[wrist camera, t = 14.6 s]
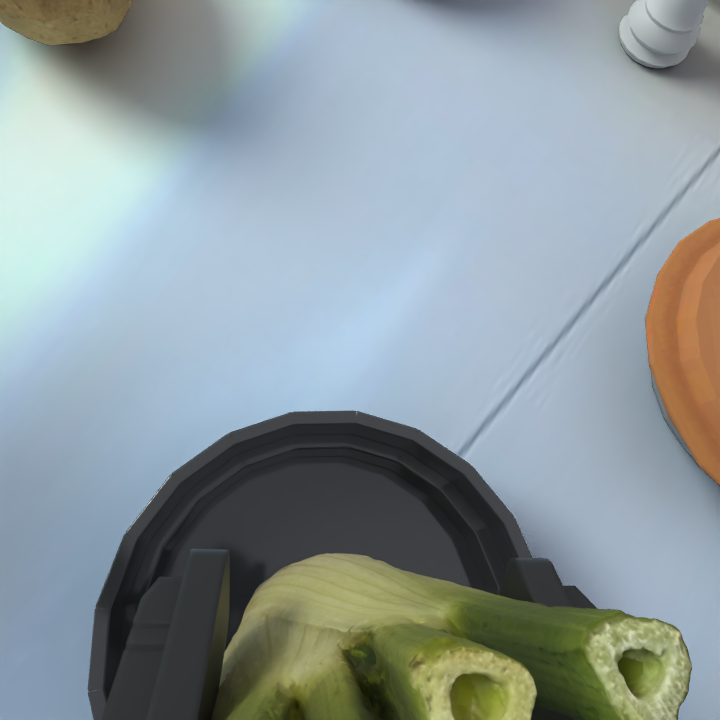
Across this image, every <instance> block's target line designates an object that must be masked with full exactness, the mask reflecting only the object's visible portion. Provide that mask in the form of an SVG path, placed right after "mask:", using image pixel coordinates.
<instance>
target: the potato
mask: <svg viewBox="0 0 720 720" xmlns="http://www.w3.org/2000/svg"><path fill="white" fill-rule="evenodd" d="M132 2H133V0H0V22H1V23H2V24H3V25H5V26H6V27H8V28H10V29H12V30H14V31H16V32H17V33H19V34H21V35H23V36H25V37H27V38H29V39H32V40H35V41H38V42H41V43H44V44H47V45H57V44H70V43H84V42H87V41H90V40H92V39H97V38H101V37H104V36H106V35H108V34H110V33H112V32H114V31H116V30H117V29H118V27H119V25H120V24H121V22H122V20H123V18H124V17H125V15H126V13H127V11H128V10H129V8H130V6H131V4H132Z"/></svg>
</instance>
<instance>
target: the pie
mask: <svg viewBox="0 0 720 720" xmlns="http://www.w3.org/2000/svg"><path fill="white" fill-rule="evenodd" d="M645 324H646V336H647V347H648V358H649V366H650V369H651V377H652V387H653V390H654V393H655V395H656V398H657V401H658V404H659V406H660V409H661V412H662V415H663V417H664V420H665V421H666V423H667V424H668V426H669V427H670V429H671V430H672V432H673V433H674V435H675V436H676V438H677V439H678V441H679V442H680V444H681V445H682V447H683V448H684V450H685V451H686V452H687V453H688V454H689V455H691V456H692V457H693V458H694V459H695V460H696V462H697V464H698V466H699V467H701V468H702V469H703V470H704V471H705V472H706V473H707V474H708V475H709V476H710V477H711V478H712V479H713V480H714V481H715V482H716V483H717V484H718V485H719V486H720V218H719V219H715V220H712V221H709V222H707V223H706V224H705V225H703V226H702V227H700V228H699V229H697V230H696V231H694V232H693V233H691V234H690V235H688V236H687V237H685V238H684V239H682V240H681V241H680V242H679V243H678V244H677V246H676V247H675V249H674V250H673V252H672V253H671V255H670V256H669V258H668V260H667V261H666V263H665V264H664V266H663V267H662V269H661V270H660V272H659V273H658V275H657V278H656V281H655V285H654V289H653V292H652V296H651V299H650V303H649V306H648V310H647V313H646V317H645Z"/></svg>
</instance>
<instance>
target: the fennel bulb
mask: <svg viewBox="0 0 720 720" xmlns="http://www.w3.org/2000/svg"><path fill="white" fill-rule="evenodd" d="M691 670H692V665H691V661H690V658H689V653H688V649H687V647H686V645H685V643H684V641H683V639H682V635H681V633H680V631H679V630H678V629H677V628H676V627H675V626H673V625H671V624H668V623H665V622H663V621H660V620H658V619H648V618H643V617H639V618H638V617H634V616H632V615H629V614H625V613H624V612H622V611H620V610H610V609H608V610H604V609H590V608H585V609H583V608H574V607H563V606H562V607H559V606H554V607H547V606H546V605H543V604H540V603H531V602H528V601H520V600H514V599H510V598H507V597H503V596H499V595H495V594H492V593H488V592H485V591H482V590H478V589H474V588H470V587H466V586H461V585H458V584H456V583H453V582H450V581H445V580H440V579H435V578H431V577H427V576H423V575H419V574H415V573H412V572H409V571H403V570H401V569H398V568H395V567H393V566H391V565H389V564H387V563H386V562H384V561H380V560H374V559H372V558H371V557H368V556H364V555H357V554H343V553H341V554H339V553H333V554H328V553H326V554H320V555H316V556H314V557H310V558H307V559H305V560H302V561H300V562H295V563H292V564H290V565H287V566H285V567H283V568H281V569H280V570H278V571H277V572H276V573H275V574H274V575H273V576H271V577H270V578H269V579H267V580H266V581H264V582H263V583H262V584H261V585H260V586H259V587H258V588H257V589H256V591H255V592H254V594H253V596H252V598H251V600H250V602H249V603H248V605H247V607H246V609H245V611H244V614H243V618H242V621H241V624H240V626H239V628H238V631H237V632H236V633H235V634H234V636H233V637H232V640H231V642H230V643H229V645H228V647H227V649H226V650H225V652H224V659H223V665H222V672H221V678H220V685H219V691H218V695H217V699H216V703H215V707H214V711H213V714H212V718H211V720H531V716H532V710H533V708H534V704H535V705H537V706H539V707H542V708H545V709H548V710H552V711H555V712H558V713H561V714H564V715H567V716H569V717H571V718H573V719H575V720H678V712H679V707H680V705H681V704H682V703H683V702H684V700H685V698H686V696H687V693H688V691H689V681H690V674H691Z"/></svg>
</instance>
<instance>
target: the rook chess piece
mask: <svg viewBox="0 0 720 720" xmlns="http://www.w3.org/2000/svg"><path fill="white" fill-rule="evenodd" d="M709 1H710V0H637V1H636V2H635V3H634V4H633V5H632V6H631V8H630V11H629V13H628V14H627V15H626V16H624V17H623V18H622V21H621V23H620V26H619V31H620V39H621V45H622V47H623V48H624V50H625V52H626V53H627V54H628V55H629V56H630V57H631V58H632V59H633V60H635V61H636V62H638V63H640V64H642V65H644V66H646V67H651V68H658V69H660V68H665V67H669V66H673V65H676V64H679V63H680V62H681V61H682V60H684V59H685V58H686V57H687V54H688V51H689V49H690V48H691V47H693V46H694V45H695V43H696V41H697V39H698V36H699V33H700V30H701V27H700V25H701V23H702V20H703V17H704V16H703V12H704V9H705V8H706V6H707V4H708V2H709Z"/></svg>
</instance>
